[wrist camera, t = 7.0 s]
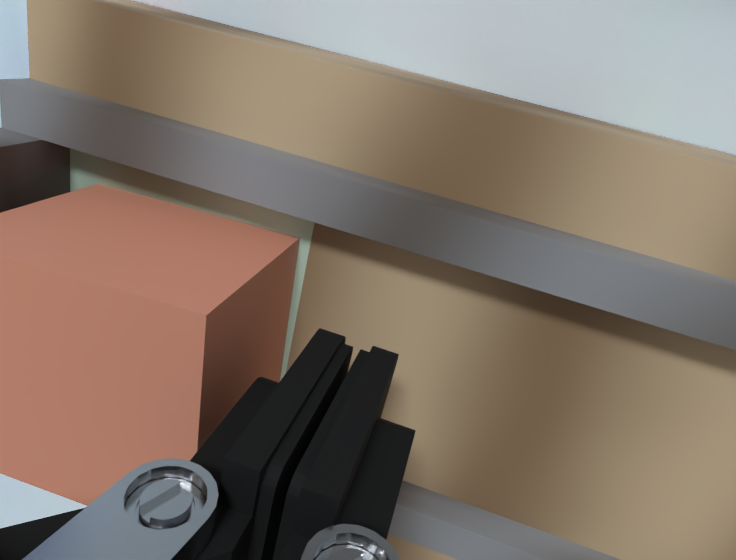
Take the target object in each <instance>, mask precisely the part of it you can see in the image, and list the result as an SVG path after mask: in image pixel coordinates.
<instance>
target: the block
mask: <svg viewBox="0 0 736 560" xmlns="http://www.w3.org/2000/svg"><path fill="white" fill-rule="evenodd" d="M299 242H300V237H296V236H292V235H288V234H285V233H281V232H277V231H273V230H270V229H266V228H262V227H259V226H255V225H251V224H247V223H244V222H240V221H236V220H232V219H229V218H225V217H221V216H218V215H214V214H210V213H206V212H203V211H199V210H195V209H191V208H188V207H184V206H180V205H177V204H173V203H169V202H165V201H162V200H158V199H154V198H151V197H147V196H143V195H139V194H136V193H132V192H128V191H124V190H121V189H117V188H113V187H109V186H106V185H102V184H95V185H92V186H88V187H85V188H82V189H78V190H75V191H72V192H68V193H65V194H62V195H58V196H55V197H52V198H48V199H45V200H42V201H38V202H35V203H31V204H28V205H25V206H21V207H18V208H15V209H11V210H8V211H5V212H1V213H0V473H1V474H4V475H6V476H9V477H12V478H14V479H17V480H20V481H22V482H25V483H28V484H30V485H33V486H36V487H39V488H41V489H44V490H47V491H49V492H52V493H55V494H57V495H60V496H63V497H65V498H68V499H71V500H73V501H76V502H79V503H82V504H84V505H87V506H88V505H89V504H91V503H92V502H93V501H94V500H96V499H97V498H98V497H99V496H100V495H102V494H103V493H104V492H105V491H107V490H108V489H109V488H110V487H111V486H113V485H114V484H115V483H116V482H118V481H119V480H120V479H121V478H122V477H124V476H125V475H126V474H127V473H129V472H130V471H132V470H134V469H135V468H137V467H138V466H140V465H143V464H145V463H148V462H151V461H154V460H160V459H169V458H173V459H182V460H188V461H190V460H191V459H192V457H193V456H194V455H195V454H196V452H197V451H198V450H199V449H200V447H201V446H202V445H203V444H204V443H205V441H206V440H207V439H208V438H209V436H210V435H211V434H212V433H213V431H214V430H215V429H216V428H217V427H218V425H219V424H220V423H221V422H222V420H223V419H224V418H225V417H226V415H227V414H228V413H229V412H230V411H231V409H232V408H233V407H234V406H235V404H236V403H237V402H238V401H239V399H240V398H241V397H242V396H243V395H244V393H245V392H246V391H247V390H248V388H249V387H250V386H251V385H252V383H253V382H254V381H255V380H256V379H257V378H258V377H264V378H267V379H270V380H273V381H275V382H278V383H279V382H280V378H281V371H282V363H283V356H284V349H285V342H286V335H287V328H288V321H289V313H290V306H291V299H292V292H293V285H294V278H295V270H296V263H297V256H298V249H299Z"/></svg>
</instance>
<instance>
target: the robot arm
mask: <svg viewBox="0 0 736 560" xmlns="http://www.w3.org/2000/svg"><path fill="white" fill-rule="evenodd" d="M345 340H346V337H345V336H342V335H339V334H336V333H333V332H330V331H327V330H324V329H321V328H319V329H318V330H317V332H316V333H315V334H314V336H313V337H312V338H311V340H310V341H309V342H308V344H307V345H306V347H305V348H304V349H303V351H302V352H301V353H300V355H299V356H298V357H297V359H296V360H295V362H294V363H293V364H292V366H291V367H290V368H289V370H288V371H287V373H286V374H285V375H284V377H283V378H282V379H281V381H280V382H279V383H278V382H275V381H273V380H270V379H267V378H264V377H258V378H257V379H256V380H255V381H254V382H253V383H252V385H251V386H250V387H249V388H248V390H247V391H246V392H245V393H244V395H243V396H242V397H241V398H240V399H239V401H238V402H237V403H236V404H235V406H234V407H233V408H232V409H231V411H230V412H229V413H228V414H227V415H226V417H225V418H224V419H223V420H222V422H221V423H220V424H219V425H218V427H217V428H216V429H215V430H214V431H213V433H212V434H211V435H210V436H209V438H208V439H207V440H206V441H205V443H204V444H203V445H202V446H201V447H200V449H199V450H198V451H197V452H196V454H195V455H194V456H193V457H192V459H191V460H190V461H188V460H182V459H173V458H169V459H160V460H154V461H151V462H148V463H145V464H143V465H140V466H138V467H137V468H135V469H134V470H132V471H130V472H129V473H127V474H126V475H125V476H124V477H122V478H121V479H120V480H119V481H118V482H116V483H115V484H114V485H113V486H111V487H110V488H109V489H108V490H107V491H105V492H104V493H103V494H102V495H100V496H99V497H98V498H97V499H96V500H94V501H93V502H92V503H91V504H89V505H88V506H87V507H86V508H83V509H79V510H75V511H71V512H66V513H62V514H58V515H54V516H50V517H46V518H42V519H38V520H34V521H30V522H26V523H22V524H17V525H13V526H9V527H5V528H1V529H0V560H400V559H399V556H398V554H397V552H396V551H395V550H394V548H393V547H392V546H391V545H390V544H389V542H388V541H387V536H388V532H389V528H390V525H391V521H392V517H393V514H394V510H395V506H396V503H397V499H398V495H399V491H400V488H401V484H402V480H403V477H404V473H405V469H406V465H407V462H408V458H409V454H410V451H411V447H412V443H413V439H414V436H415V431H416V430H413V429H411V428H408V427H405V426H402V425H399V424H396V423H393V422H390V421H388V420H385V419H382V418H381V416H382V412H383V409H384V405H385V402H386V398H387V395H388V391H389V388H390V385H391V381H392V378H393V374H394V371H395V367H396V364H397V360H398V356H399V354H397V353H394V352H391V351H388V350H385V349H382V348H379V347H376V346H372V348H371V350H370V352H368V351H365V350H362V349H360V351H359V353H358V354H357V356H356V358H355V360H354V362H353V364H352V366H351V368H350V369H349V365H350V361H351V356H352V352H353V346H350V345H347V344H345ZM348 369H349V371H348Z"/></svg>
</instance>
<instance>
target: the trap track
mask: <svg viewBox="0 0 736 560" xmlns="http://www.w3.org/2000/svg"><path fill="white" fill-rule="evenodd" d="M27 19H28V44H29V70H30V78H26V79H1V80H0V103H1V119H2V128H0V213H1V212H5V211H8V210H11V209H15V208H18V207H21V206H25V205H28V204H31V203H35V202H38V201H42V200H45V199H48V198H52V197H55V196H58V195H62V194H65V193H68V192H72V191H75V190H78V189H82V188H85V187H88V186H92V185H95V184H102V185H106V186H109V187H113V188H117V189H121V190H124V191H128V192H132V193H136V194H139V195H143V196H147V197H151V198H154V199H158V200H162V201H165V202H169V203H173V204H177V205H180V206H184V207H188V208H191V209H195V210H199V211H203V212H206V213H210V214H214V215H218V216H221V217H225V218H229V219H232V220H236V221H240V222H244V223H247V224H251V225H255V226H259V227H262V228H266V229H270V230H273V231H277V232H281V233H285V234H288V235H292V236H296V237H300V242H299V249H298V256H297V263H296V270H295V278H294V285H293V292H292V299H291V306H290V313H289V321H288V328H287V335H286V342H285V349H284V356H283V363H282V371H281V378H280V381H281V379H282V378H283V377H284V375H285V374H286V373H287V371H288V370H289V368H290V367H291V366H292V364H293V363H294V362H295V360H296V359H297V357H298V356H299V355H300V353H301V352H302V351H303V349H304V348H305V347H306V345H307V344H308V342H309V341H310V340H311V338H312V337H313V336H314V334H315V333H316V332H317V330H318V329H319V328H321V329H324V330H327V331H330V332H333V333H336V334H339V335H342V336H345V337H346V340H345V344H347V345H350V346H353V352H352V356H351V361H350V365H349V369H350V368H351V366H352V364H353V362H354V360H355V358H356V356H357V354H358V353H359V351H360V349H362V350H365V351H368V352H370V350H371V348H372V346H376V347H379V348H382V349H385V350H388V351H391V352H394V353H397V354H399V356H398V360H397V364H396V367H395V371H394V374H393V378H392V381H391V385H390V388H389V391H388V395H387V398H386V402H385V405H384V409H383V412H382V416H381V418H382V419H385V420H388V421H390V422H393V423H396V424H399V425H402V426H405V427H408V428H411V429H413V430H416V431H415V436H414V439H413V443H412V447H411V451H410V454H409V458H408V462H407V465H406V469H405V473H404V477H403V480H402V484H401V488H400V491H399V495H398V499H397V503H396V506H395V510H394V514H393V517H392V521H391V525H390V528H389V532H388V536H387V541H388V542H389V544H390V545H391V546H392V547H393V548H394V550H395V551H396V552H397V554H398V556H399V559H400V560H736V156H735V155H731V154H727V153H723V152H719V151H715V150H711V149H708V148H704V147H700V146H696V145H692V144H688V143H684V142H680V141H676V140H673V139H669V138H665V137H661V136H657V135H653V134H649V133H645V132H641V131H638V130H634V129H630V128H626V127H622V126H618V125H614V124H610V123H606V122H603V121H599V120H595V119H591V118H587V117H583V116H579V115H575V114H571V113H567V112H564V111H560V110H556V109H552V108H548V107H544V106H540V105H536V104H532V103H529V102H525V101H521V100H517V99H513V98H509V97H505V96H501V95H497V94H494V93H490V92H486V91H482V90H478V89H474V88H470V87H466V86H462V85H459V84H455V83H451V82H447V81H443V80H439V79H435V78H431V77H427V76H424V75H420V74H416V73H412V72H408V71H404V70H400V69H396V68H392V67H389V66H385V65H381V64H377V63H373V62H369V61H365V60H361V59H357V58H353V57H350V56H346V55H342V54H338V53H334V52H330V51H326V50H322V49H318V48H315V47H311V46H307V45H303V44H299V43H295V42H291V41H287V40H283V39H280V38H276V37H272V36H268V35H264V34H260V33H256V32H252V31H248V30H245V29H241V28H237V27H233V26H229V25H225V24H221V23H217V22H213V21H210V20H206V19H202V18H198V17H194V16H190V15H186V14H182V13H178V12H174V11H171V10H167V9H163V8H159V7H155V6H151V5H147V4H143V3H139V2H136V1H132V0H27ZM349 369H348V371H349Z"/></svg>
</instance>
